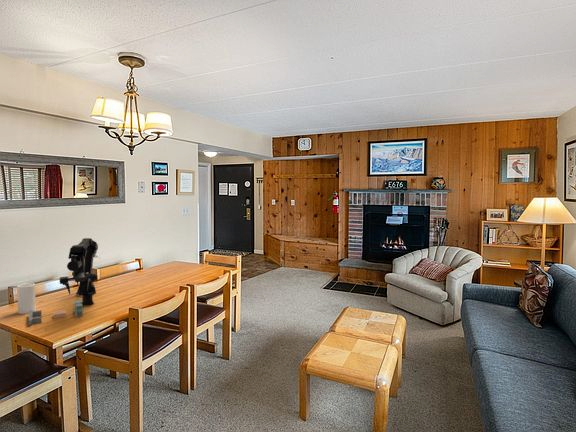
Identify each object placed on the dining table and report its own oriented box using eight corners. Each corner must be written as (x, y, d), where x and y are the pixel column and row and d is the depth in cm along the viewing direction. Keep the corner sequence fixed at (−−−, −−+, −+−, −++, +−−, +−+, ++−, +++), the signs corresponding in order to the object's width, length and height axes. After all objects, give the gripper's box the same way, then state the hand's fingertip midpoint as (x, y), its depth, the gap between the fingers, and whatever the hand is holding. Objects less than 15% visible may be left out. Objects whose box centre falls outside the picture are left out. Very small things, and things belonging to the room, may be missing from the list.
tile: (53, 315, 198) (53, 311, 197) (65, 314, 201) (65, 309, 201) (53, 319, 193) (53, 315, 193) (66, 317, 196) (66, 313, 196)
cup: (26, 314, 198) (25, 287, 197) (14, 313, 199) (13, 286, 198) (39, 309, 206) (38, 283, 205) (27, 308, 207) (26, 282, 206)
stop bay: (29, 315, 196) (29, 310, 196) (41, 313, 199) (41, 308, 199) (28, 326, 182) (28, 320, 181) (41, 324, 185) (41, 318, 184)
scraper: (74, 310, 206) (74, 301, 206) (80, 309, 208) (80, 300, 208) (75, 317, 197) (75, 306, 196) (82, 315, 199) (82, 305, 198)
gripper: (60, 271, 188) (60, 299, 190) (98, 267, 199) (98, 293, 201) (59, 267, 197) (59, 293, 199) (95, 264, 208) (96, 289, 210)
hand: (78, 292), depth 202 cm, fingers open, 9 cm apart
